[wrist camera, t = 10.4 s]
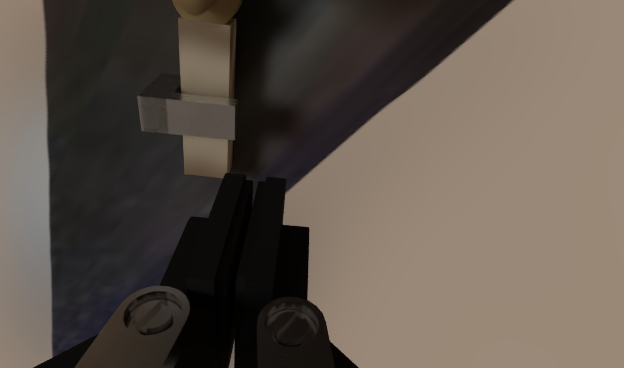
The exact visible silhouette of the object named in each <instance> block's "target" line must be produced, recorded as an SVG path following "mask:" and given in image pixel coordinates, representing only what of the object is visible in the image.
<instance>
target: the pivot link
mask: <svg viewBox="0 0 624 368" xmlns="http://www.w3.org/2000/svg"><path fill="white" fill-rule="evenodd" d="M172 1H173V4H174V6H175V8H176V10H177V11H178V13H179V14H180V15H181V17H180V18H178V28H179V52H180V76H181V93H182V94H192V95H201V96H211V97H221V98H230V99H234V84H235V50H236V19H235V18H232V17H233V16H234V15H235V14H236V12H237V11H238V10H239V8H240V6H241V3H242V0H172ZM183 146H184V170H185V174H191V175H199V176H208V177H217V178H224V175H225V173H229V172H230V169H231V166H232V154H233V140H227V139H217V138H207V137H197V136H187V135H183Z"/></svg>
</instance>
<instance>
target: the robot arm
mask: <svg viewBox="0 0 624 368" xmlns="http://www.w3.org/2000/svg"><path fill="white" fill-rule="evenodd" d="M285 189H286V179H284V178H274V177H267V178H266V182H262V181H259V182H258V186H257V190H256V195H255V199H254V203H253V207H252V201H253V181H251V180H246V175H243V174H232V173H225V175H224V178H223V180H222V183H221V186H220V188H219V191H218V194H217V196H216V199H215V202H214V204H213V207H212V210H211V212H210V215H209V218H202V217H190V219H189V220H188V222H187V225H186V227H185V229H184V231H183V234H182V236H181V238H180V240H179V243H178V245H177V247H176V250H175V252H174V254H173V256H172V259H171V261H170V263H169V265H168V268H167V270H166V272H165V274H164V277H163V279H162V281H161V284H160V286H153V287H147V288H145V289H142V290H139V291H137V292H135V293H134V294H132V295H130V296H129V297H127V298H126V299H125V300H124V301H123V303H122V304H121V305H120V306H119V307H118V309H117V310H116V311H115V313H114V314H113V315H112V317H111V318H110V320H109V321H108V322H107V324H106V325H105V326H104V328H103V329H102V331H101V332H100V333H99V334H97V335H95V336H94V337H92V338H90V339H88V340H86V341H84V342H82V343H80V344H78V345H76V346H74V347H72V348H70V349H68V350H66V351H65V352H63V353H61V354H59V355H57V356H55V357H53V358H51V359H49V360H47V361H45V362H43V363H41V364H39V365H38V366H36V367H34V368H228V367H229V363H230V359H231V353H232V349H233V344H234V339H235V364H234V365H235V367H234V368H358V367H357V366H356V365H355V364H354V363H353V362H352V361H351V360H350V359H349V358H348V357H346V356H345V355H344V354H343V353H342V352H341V351H340V350H339V349H338V348H337V347H335V346H334V345H333V344H332V343H331V342H330V340H329V335H328V330H327V326H326V321H325V319H324V316H323V313H322V312H321V311H320V310H319V309H318V307H317V306H316V305H314V304H313V303H311V302H310V301H308V300H307V291H308V290H307V289H308V257H309V227H301V226H289V225H283V213H284V201H285Z"/></svg>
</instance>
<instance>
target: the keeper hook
mask: <svg viewBox="0 0 624 368" xmlns="http://www.w3.org/2000/svg"><path fill="white" fill-rule="evenodd" d="M137 97H138V105H139V113H140V121H141V129H142V131H147V132H157V133H167V134H177V135H187V136H197V137H207V138H217V139H227V140H235V138H236V136H237V133H238V99H230V98H221V97H211V96H201V95H192V94H182V93H181V76H177V75H168V74H160V75H159V76H158V77H157V78H156V79H155V80H154V81H153V82H152V83H151V84H150V85H148V86H147V87H146V88H145V89H144V90H143V91H142V92H141V93H140V94H139V95H138V96H137Z"/></svg>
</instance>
